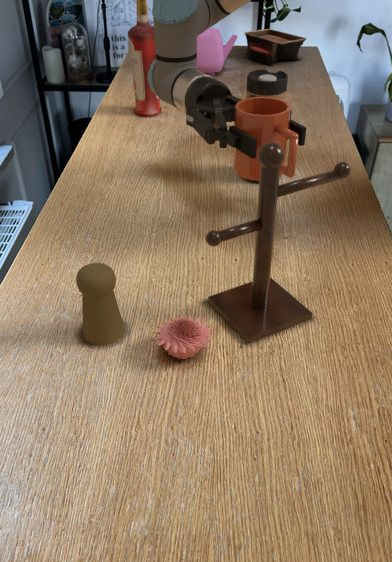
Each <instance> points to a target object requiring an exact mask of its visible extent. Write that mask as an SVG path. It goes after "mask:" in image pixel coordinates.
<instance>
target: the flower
mask: <svg viewBox="0 0 392 562" xmlns="http://www.w3.org/2000/svg"><path fill="white" fill-rule="evenodd" d="M169 319H170V320H169V321H168V320H167V321H166V320H165V321H164V320H161V322H162V323H163V324H162V325H155V328H157V329H159V330H158V331H154V332H152V334H155V335H157V337H155V338H153V341H159V343H158V345H157V346H158V347H160V346H162V348H163V349H164V351H166V352H168V353H167V355H168V356H169V355H170V356H171V357H172V358H176V359H179V360H182V359H183V360H186V359H189V358H193V357H194V356H196V354H197V353H199V352H200V351H201V350H203V349H205V348H206V346H205V345H206V344H209V343H210V342H211V343H212V340H210V339H211V337H213V336H214V334H213V333H210V332H211V330H212V327H207V324H208V322H207V321H205V322H203V323H201V318H200V317H197V318H196V319H193V318H192V316H191V315H189V316H188V318H187V317H184V316H183V315H180V314H179V318H174V317H171V316H170V317H169Z"/></svg>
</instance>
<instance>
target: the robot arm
mask: <svg viewBox="0 0 392 562" xmlns="http://www.w3.org/2000/svg"><path fill="white" fill-rule="evenodd" d="M251 1H252V0H152V9H151V15H152V20H153V21H152V23H153V26H154V38H155V55H156V56H155V60H154V61H153V63H152V64H151V66H150V69H149V72H148V83H149V86H150V88H151V90H152V91H153V92H154V93H155V94H156V95H157V96H158V97H159V98H160V101H162V102H164V103H166V104H169V105H171V106H173V107H174V108H175V109H177V110H178V111H180V112H182V113H183V114H184V115H185V124H186V126H189V127H190V128H193V129H194V130H195V131H196V133H197V134H198V135H199V136H200V137H201V138H202V139H203V141H205V143H207V144H208V145H215V143H216V142H217V141H218V147H219V148H220V149H227V148H228V146H229V147H231V148H233V149H234V148H236V149H238V150H239V151H241V152H242V153H244V154H245V155H247V156H248V157H250V158H256V150H257V139H255V138H254V137H252V136H250V135H249V134H247V133H245V132H244V131H242V130H240V129H238V128H237V127H235V124H232V125H228V124H227V123H232V122H233V123H235V105H236V104H237V102H239V101H241V100H243V99H242V98H241V97H236V96H235V95H233V93H232V91H231V90H230V88H229V87H228V86H227V84H225V83H224V82H223V81H221V80H218V79H216V78H215V77H213V76H209V75H207V73H203V72H201V71H199V70H197V36H198V35H200V34H201V33H203V32H204V31H205V30H207V29H208V28H212V27H213V26H214V25H216V24H218V23H220V21H222V20H224V19H225V18H228V17H229V16H230V15H231V14H232V13H234V12H236V11H237V10H239V9H240V8H242V7H244V6H245V5H247V4H248V3H250V2H251ZM252 97H258V96H256V95H250V98H252ZM292 111H293V109H291V112H290V123H289V129H290V130H291V131H293V132H295V133H297V134H298V146H300V147H303V146H305V144H306V135H307V127H306V126H304V125H303V124H301V123H299V122H296V121H295V120H293V119H292V113H293V112H292Z"/></svg>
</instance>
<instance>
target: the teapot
mask: <svg viewBox="0 0 392 562" xmlns="http://www.w3.org/2000/svg"><path fill="white" fill-rule="evenodd" d="M238 36H239V35H237V34H231V37H230V38H229V39H228V41H227V42H226V43H225V45H224V42H223V38H222V34H221V31H220V29H219V28H215V27H213V28H212V27H210V28H208V29H207V30H205V31H204V32H203V33H201V34H200V35H198V36H197V70H199V71H201V72H203V73H205V74H207V75H209V76H211V77H213V76H215V75H216V73H219V72H221V70H222V69H223V66H224V64H225V61H226V59H227V57H228V56H229V54H230V53H231V50H232V48H233V47H234V45H235V43H236V41H237V39H238Z"/></svg>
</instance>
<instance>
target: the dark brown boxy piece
mask: <svg viewBox="0 0 392 562" xmlns="http://www.w3.org/2000/svg"><path fill="white" fill-rule="evenodd" d="M244 35H245V38H246V44H247V51H246V59H248V60H250V61H252V62H255V63H259V64H262V65H265V66H273V65H274V64H275V63H276V62H277V61H278V60H295V61H300V58H299V57H298V56H299V51H300V48H301V47H302V46H303V45H304V42H306V40H307V37H304V36H301V35H296V34H292V33H288V32H285V31H280V30H277V29H271V28H266V29H265V28H264V29H257V30H250V31H245V32H244Z"/></svg>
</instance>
